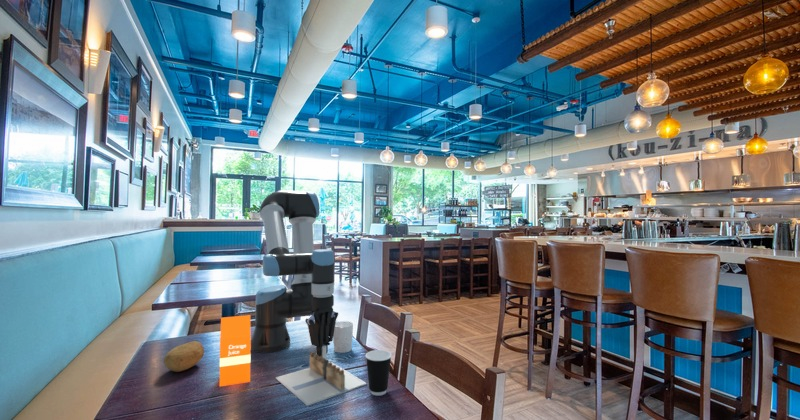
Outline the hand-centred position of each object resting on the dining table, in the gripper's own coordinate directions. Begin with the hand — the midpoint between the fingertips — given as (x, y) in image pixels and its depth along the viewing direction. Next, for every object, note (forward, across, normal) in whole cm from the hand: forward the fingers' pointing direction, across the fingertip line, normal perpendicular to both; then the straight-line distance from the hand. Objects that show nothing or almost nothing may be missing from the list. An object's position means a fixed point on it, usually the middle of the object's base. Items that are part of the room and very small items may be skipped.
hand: (321, 364), depth 125 cm
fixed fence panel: (+2, -5, -11) cm, 13 cm away
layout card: (+2, -6, -6) cm, 9 cm away
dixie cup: (+2, 0, -25) cm, 25 cm away
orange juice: (+2, -22, +16) cm, 27 cm away
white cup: (+2, +17, +8) cm, 19 cm away
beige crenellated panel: (+1, -3, -1) cm, 3 cm away
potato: (+2, -28, +37) cm, 47 cm away
